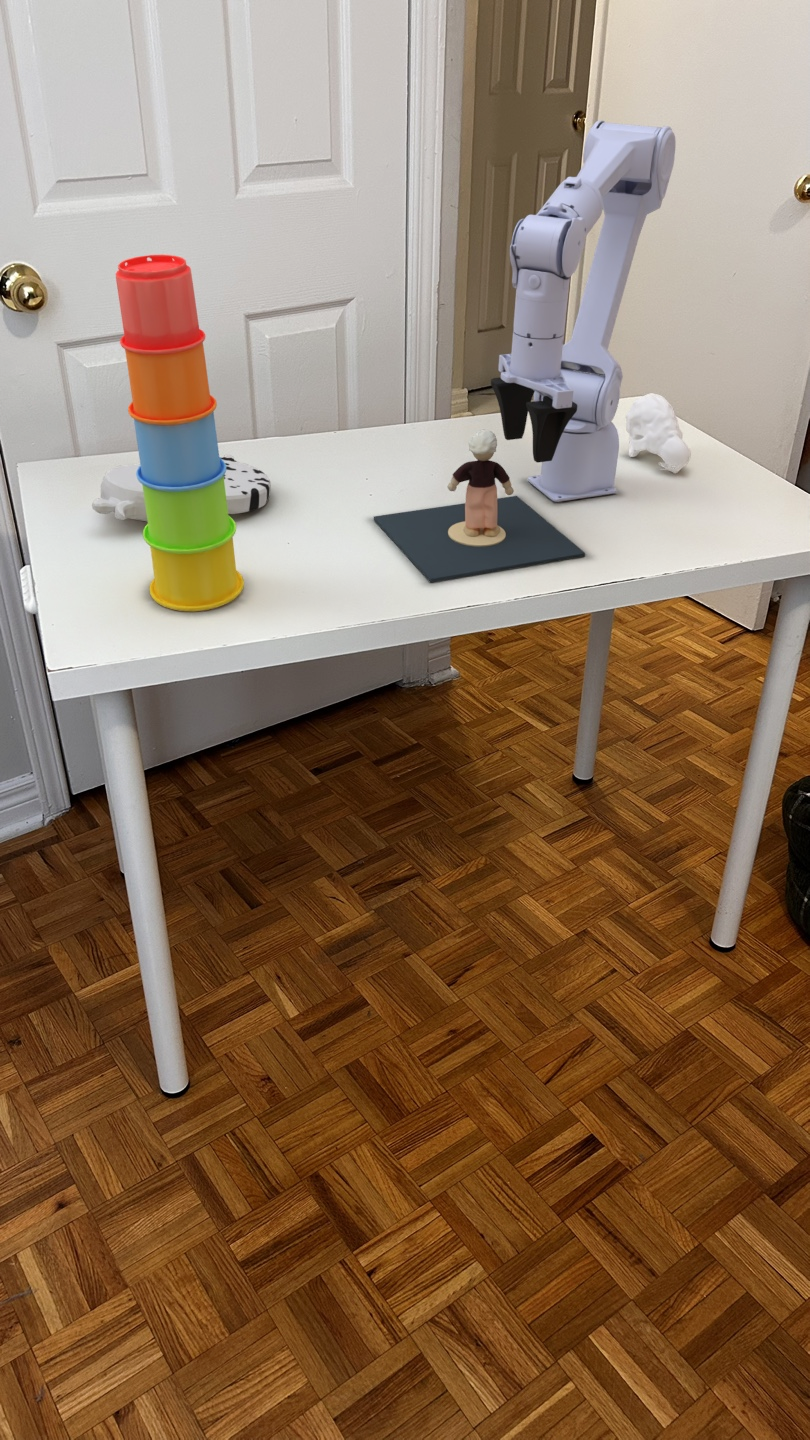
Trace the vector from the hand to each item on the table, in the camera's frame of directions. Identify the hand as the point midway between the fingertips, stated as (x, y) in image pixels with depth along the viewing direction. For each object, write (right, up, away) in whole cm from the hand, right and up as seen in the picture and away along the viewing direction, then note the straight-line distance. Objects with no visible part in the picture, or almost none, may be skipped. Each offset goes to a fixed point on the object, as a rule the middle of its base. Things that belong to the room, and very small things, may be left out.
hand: (527, 449), depth 133 cm
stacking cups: (-38, -18, -9) cm, 43 cm away
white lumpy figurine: (+21, +4, +26) cm, 34 cm away
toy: (-42, -5, +10) cm, 44 cm away
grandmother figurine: (-6, -9, +3) cm, 12 cm away
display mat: (-6, -10, +4) cm, 12 cm away
